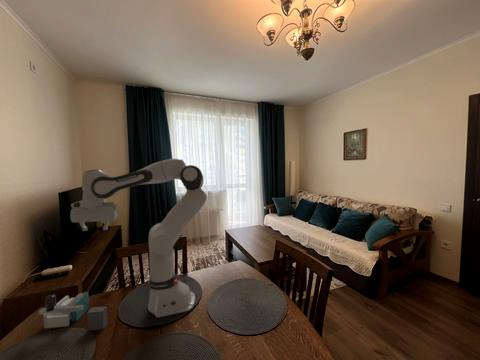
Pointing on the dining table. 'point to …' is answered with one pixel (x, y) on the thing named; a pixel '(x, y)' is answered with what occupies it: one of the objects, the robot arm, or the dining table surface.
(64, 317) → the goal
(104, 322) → the rod housing
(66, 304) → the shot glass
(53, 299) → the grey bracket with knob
